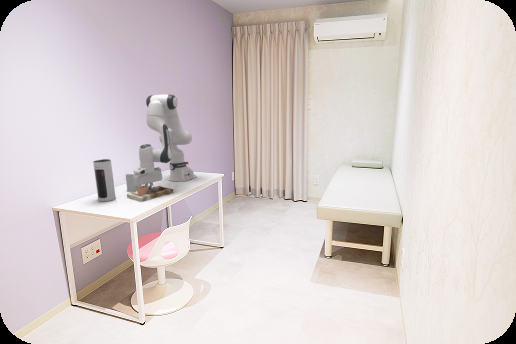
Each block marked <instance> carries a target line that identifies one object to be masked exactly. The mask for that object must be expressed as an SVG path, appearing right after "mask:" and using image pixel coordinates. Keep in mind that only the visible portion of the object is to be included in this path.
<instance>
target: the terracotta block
mask: <svg viewBox="0 0 516 344" xmlns="http://www.w3.org/2000/svg"><path fill="white" fill-rule="evenodd" d="M148 186H149V185H148ZM148 186H145V185H141V186H139V187H137V190H138V194H141V195H144V194H147V193H148V190H149V188H148Z"/></svg>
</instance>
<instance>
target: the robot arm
mask: <svg viewBox="0 0 516 344" xmlns="http://www.w3.org/2000/svg"><path fill="white" fill-rule="evenodd" d="M145 104H146V106H147V110H146V125H147V126H148V128H149V129H151V130H153V131H155V132H157V133H159V137H158V138H159V142H160V143H161V144H162V147H161V148H160V147H153V146H152V144H148V143H146V144H145V143H144V144H141V145H140V146H139V149H138V157H139V158H138V159H139V161H140V163H139V167H137V168H136V169H133V171H132V172H133V173H134V176H133V183H134V185H135V186H140V185H141V186H149V187H148V188H149V190H150V189H152V187H153V185H154V183H155V182H156V183H157V182H160V181H163V174H162V168H161V167H160V166H157V167H155V163H163V164H168V163H169V169H170V171H169V172H170V173H169V178H168V179H169V181H171V182H187V181H189V180H193V179H195V178H197V177H198V175H196V174H194V170H193V169H192V168H190V167H189V166H188V165H189V161H185V153H184V151H183V150H182V149H180V148H179V147H178V146H183V145H184V146H185V145H189V144H190V143H191V142H192V135H191V133H190V131H188V130H187V129H186V128H184V127H183V125H182V124H181V121H180V117H179V114H178V109H177V107H178V98H177V97H176V96H175V95H174V94H165V93H164V94H163V93H161V94H151V95H148V96H147V97H146V100H145ZM169 129H170V130H169Z"/></svg>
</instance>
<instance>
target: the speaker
mask: <svg viewBox="0 0 516 344" xmlns="http://www.w3.org/2000/svg"><path fill="white" fill-rule="evenodd" d="M92 163H93V171H94V178H95V185H96V192H97V193H96V194H97V200H98V201H99V203H100V202H102V203H105V202H111V201H114V200H116V191H115V190H116V188H115V182H114V174H113V168H112V167H113V165H112V160H111V159H110V158H109V159H108V158H103V159H97V160H93V161H92Z"/></svg>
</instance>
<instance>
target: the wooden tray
mask: <svg viewBox="0 0 516 344" xmlns="http://www.w3.org/2000/svg"><path fill="white" fill-rule="evenodd" d="M149 186H150V185H148V187H149ZM169 194H174V189H173V188H171V187H165V186H162V185H157V186H152V189H150V190H148V193H147V194H144V195H141V194H138V191H136V192H129V193H126V197H127V198H128V199H131V200H134V201H138V202H141V203H143V202H145V201H149V200H152V199H156V198H160V197H162V196H167V195H169Z"/></svg>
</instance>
